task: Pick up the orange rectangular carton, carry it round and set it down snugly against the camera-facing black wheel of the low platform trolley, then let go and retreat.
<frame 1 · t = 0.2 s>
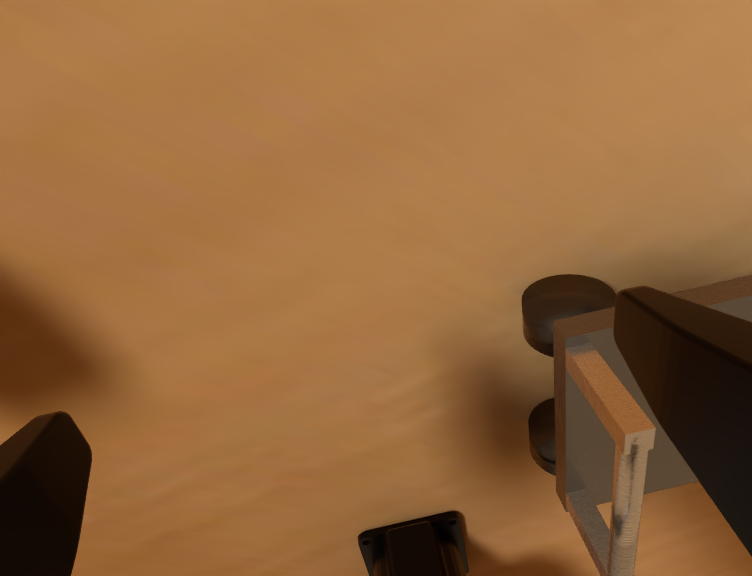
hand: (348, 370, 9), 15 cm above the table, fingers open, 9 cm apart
platform trolley: (737, 391, 24), point 5 cm above the table, slide at 0.0 cm
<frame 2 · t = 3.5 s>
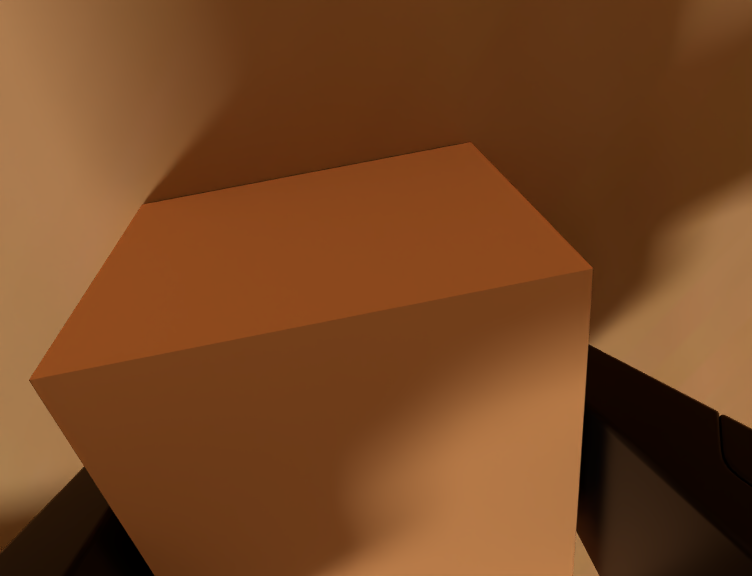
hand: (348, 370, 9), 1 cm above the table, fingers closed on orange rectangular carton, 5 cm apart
orange rectangular carton: (344, 332, 10), on the table, touching gripper
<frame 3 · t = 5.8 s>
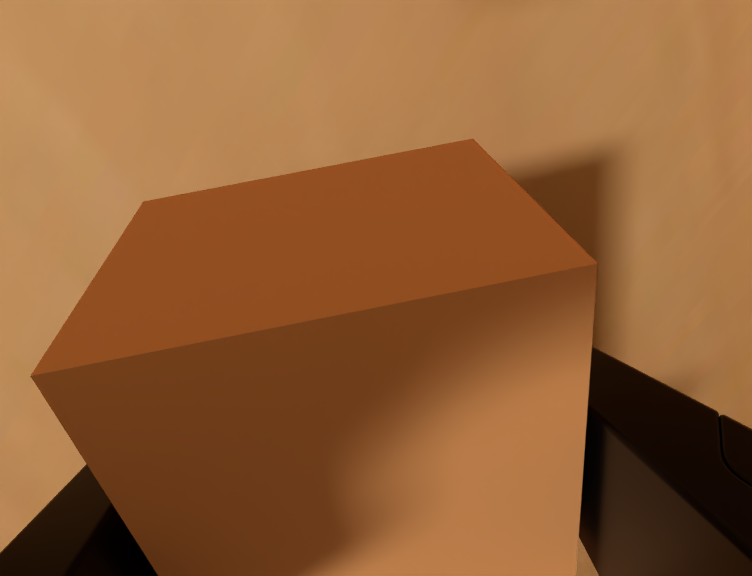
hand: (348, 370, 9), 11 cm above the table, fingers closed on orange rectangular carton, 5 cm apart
orange rectangular carton: (345, 330, 10), point 10 cm above the table, touching gripper
when the fingers open (2 cm above the table, at t = 8.5 s): orange rectangular carton drops 2 cm, on the table.
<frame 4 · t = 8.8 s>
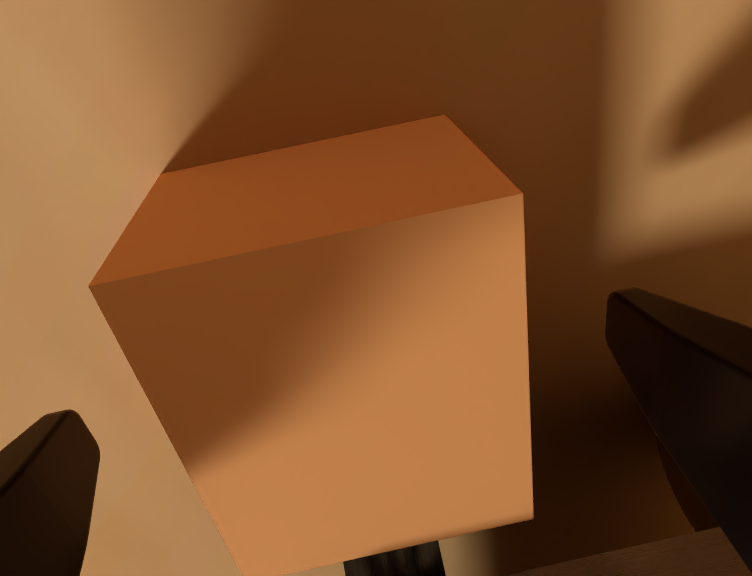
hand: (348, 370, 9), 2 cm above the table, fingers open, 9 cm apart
orange rectangular carton: (338, 284, 11), on the table
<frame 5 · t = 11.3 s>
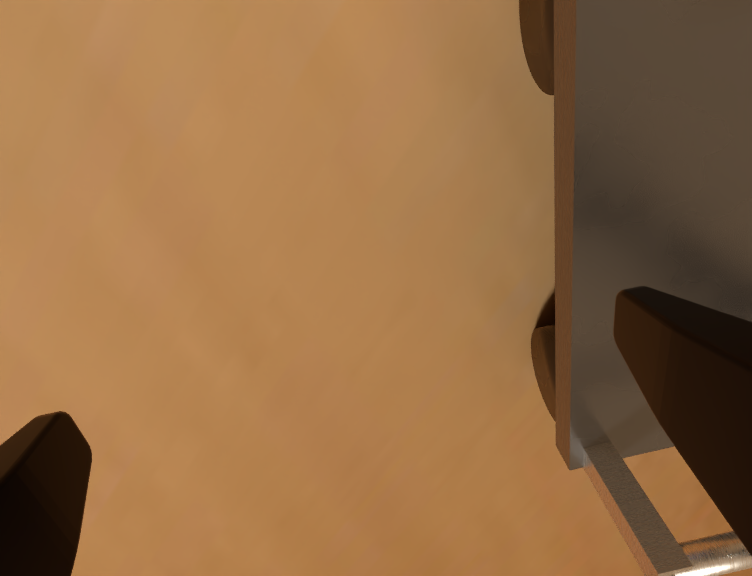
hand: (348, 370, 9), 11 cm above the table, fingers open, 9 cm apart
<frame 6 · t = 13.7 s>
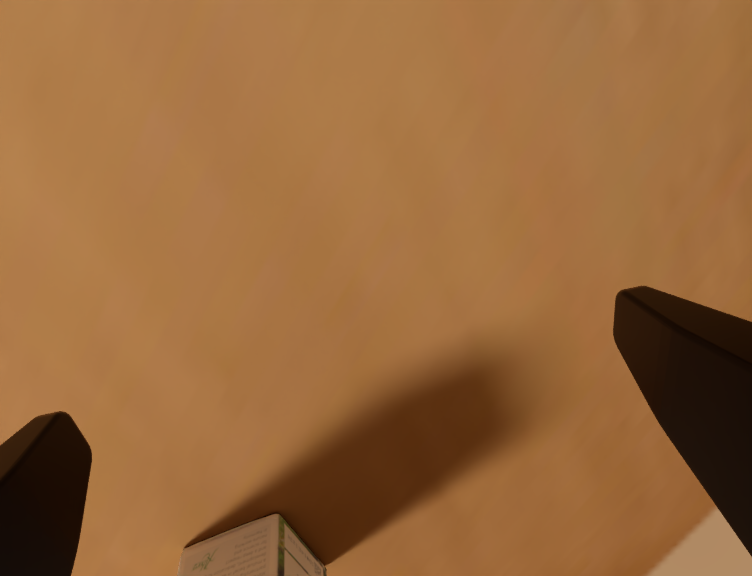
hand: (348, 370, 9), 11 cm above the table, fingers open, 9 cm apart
syrup box: (258, 553, 29), on the table
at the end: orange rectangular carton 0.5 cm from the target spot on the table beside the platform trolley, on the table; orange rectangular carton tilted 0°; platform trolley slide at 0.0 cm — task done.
